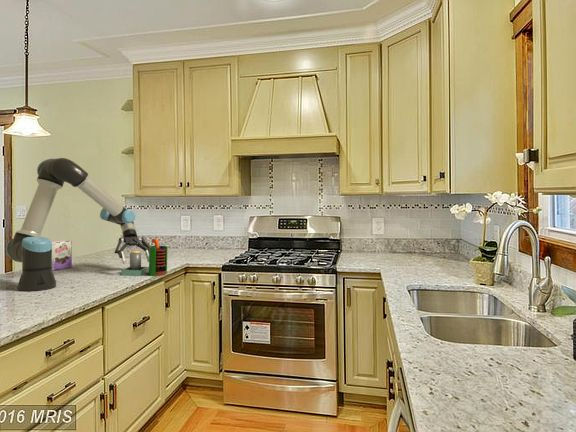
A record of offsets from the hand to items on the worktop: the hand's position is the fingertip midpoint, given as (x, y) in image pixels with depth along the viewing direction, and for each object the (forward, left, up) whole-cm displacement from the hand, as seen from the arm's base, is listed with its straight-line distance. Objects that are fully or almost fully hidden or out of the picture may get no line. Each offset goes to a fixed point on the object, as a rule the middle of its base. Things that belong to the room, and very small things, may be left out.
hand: (136, 261), depth 215 cm
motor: (+1, -11, -8) cm, 14 cm away
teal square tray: (+1, +1, -7) cm, 7 cm away
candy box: (+9, +51, -8) cm, 52 cm away
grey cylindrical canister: (+1, +1, -7) cm, 7 cm away
